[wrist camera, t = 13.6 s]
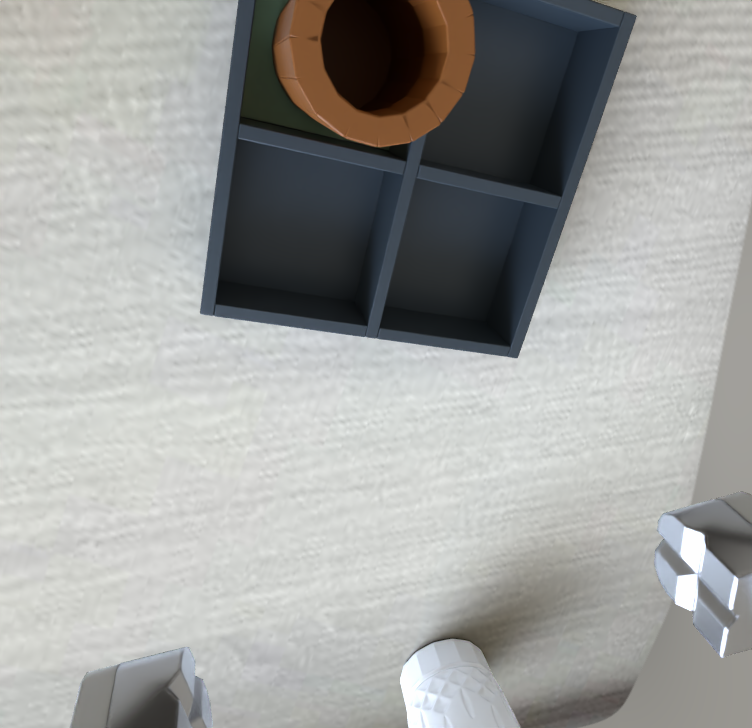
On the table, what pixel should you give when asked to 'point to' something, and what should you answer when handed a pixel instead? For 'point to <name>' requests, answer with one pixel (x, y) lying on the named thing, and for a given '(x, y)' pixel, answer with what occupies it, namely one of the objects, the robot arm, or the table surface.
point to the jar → (375, 64)
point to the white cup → (453, 689)
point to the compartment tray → (412, 187)
